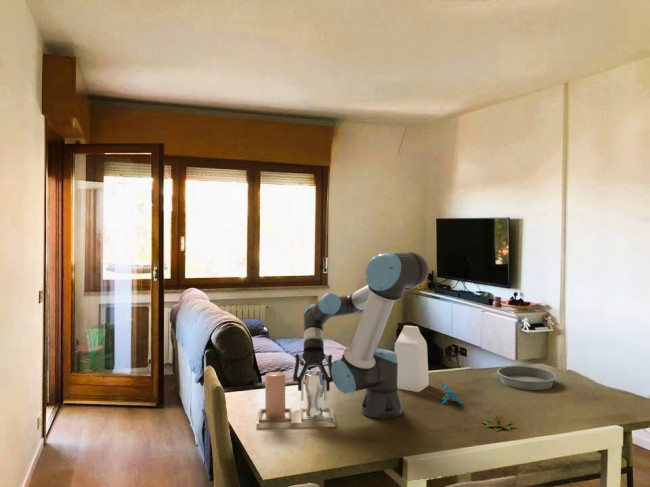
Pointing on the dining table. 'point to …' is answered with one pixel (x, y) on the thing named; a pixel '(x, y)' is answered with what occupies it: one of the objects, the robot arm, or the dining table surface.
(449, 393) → the toy gun
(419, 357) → the milk
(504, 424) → the lily flower
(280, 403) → the tan tall block
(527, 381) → the cake pan
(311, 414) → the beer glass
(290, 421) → the board
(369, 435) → the dining table surface
